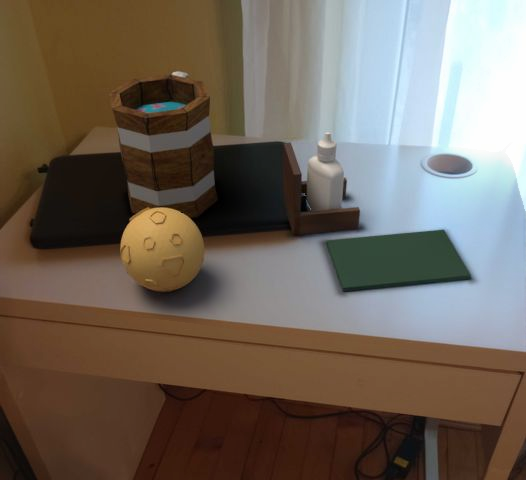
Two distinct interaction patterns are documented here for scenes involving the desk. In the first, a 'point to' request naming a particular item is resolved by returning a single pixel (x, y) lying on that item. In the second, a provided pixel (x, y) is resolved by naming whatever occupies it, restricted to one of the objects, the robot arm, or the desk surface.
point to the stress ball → (162, 249)
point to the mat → (396, 260)
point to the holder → (292, 194)
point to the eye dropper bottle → (324, 177)
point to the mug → (166, 143)
